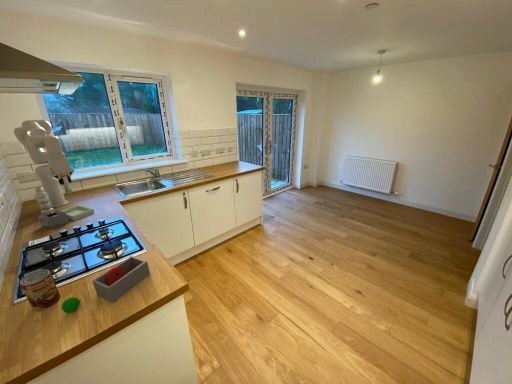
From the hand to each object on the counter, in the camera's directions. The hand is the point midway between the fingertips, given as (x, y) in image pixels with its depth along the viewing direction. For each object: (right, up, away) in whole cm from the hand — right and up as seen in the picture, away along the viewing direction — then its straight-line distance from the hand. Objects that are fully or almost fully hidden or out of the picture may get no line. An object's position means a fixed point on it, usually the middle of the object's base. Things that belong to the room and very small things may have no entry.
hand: (65, 183), depth 144 cm
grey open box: (+73, -44, -55) cm, 102 cm away
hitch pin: (0, -6, +2) cm, 6 cm away
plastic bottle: (-19, -22, +8) cm, 31 cm away
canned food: (+49, -48, -63) cm, 92 cm away
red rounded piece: (+72, -44, -53) cm, 100 cm away
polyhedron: (+61, -49, -66) cm, 102 cm away
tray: (0, -22, +9) cm, 23 cm away
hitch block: (-2, -27, -5) cm, 28 cm away
